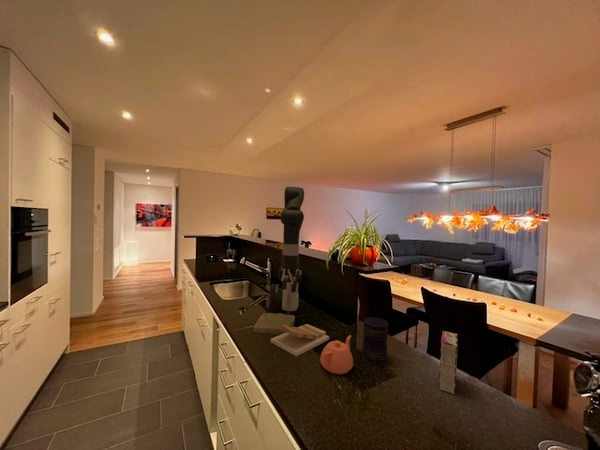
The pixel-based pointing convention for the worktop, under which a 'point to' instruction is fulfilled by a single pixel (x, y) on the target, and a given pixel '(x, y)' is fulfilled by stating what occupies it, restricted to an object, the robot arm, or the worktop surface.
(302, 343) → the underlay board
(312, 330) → the light oak plank
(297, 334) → the honey oak plank
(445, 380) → the candy bar box
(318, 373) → the worktop surface
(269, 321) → the decorative tile
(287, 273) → the robot arm
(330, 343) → the teapot
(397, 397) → the worktop surface
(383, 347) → the storage jar
